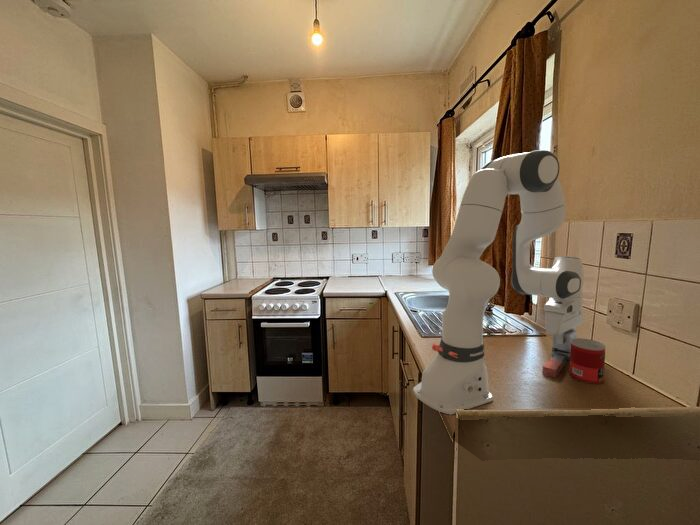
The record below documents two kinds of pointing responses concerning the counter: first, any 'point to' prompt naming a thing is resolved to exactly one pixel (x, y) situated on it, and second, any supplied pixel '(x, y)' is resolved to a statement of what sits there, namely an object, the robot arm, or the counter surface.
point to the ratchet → (555, 362)
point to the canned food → (587, 360)
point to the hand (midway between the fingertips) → (564, 341)
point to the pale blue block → (565, 341)
